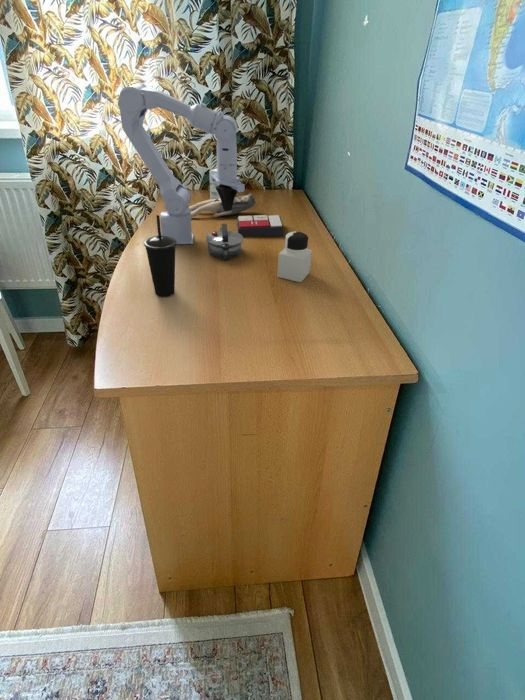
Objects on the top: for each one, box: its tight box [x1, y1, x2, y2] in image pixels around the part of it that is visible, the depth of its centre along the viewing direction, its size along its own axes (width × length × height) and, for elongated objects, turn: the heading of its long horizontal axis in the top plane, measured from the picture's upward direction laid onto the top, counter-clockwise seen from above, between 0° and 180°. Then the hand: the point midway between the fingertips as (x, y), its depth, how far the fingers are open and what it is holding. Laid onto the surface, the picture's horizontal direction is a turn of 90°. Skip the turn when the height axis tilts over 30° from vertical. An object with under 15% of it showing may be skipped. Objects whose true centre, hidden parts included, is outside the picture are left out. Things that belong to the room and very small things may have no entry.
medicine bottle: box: [277, 231, 313, 283], centre depth 124 cm, size 7×7×12 cm
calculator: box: [236, 214, 285, 238], centre depth 154 cm, size 11×4×15 cm
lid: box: [205, 223, 244, 249], centre depth 135 cm, size 13×11×3 cm
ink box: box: [208, 168, 220, 200], centre depth 174 cm, size 9×5×12 cm, turn 66°
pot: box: [207, 227, 242, 262], centre depth 140 cm, size 10×18×4 cm, turn 7°
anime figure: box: [189, 192, 256, 218], centre depth 164 cm, size 10×7×30 cm
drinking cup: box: [143, 214, 178, 298], centre depth 110 cm, size 8×8×20 cm
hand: (227, 210), depth 138 cm, fingers closed
